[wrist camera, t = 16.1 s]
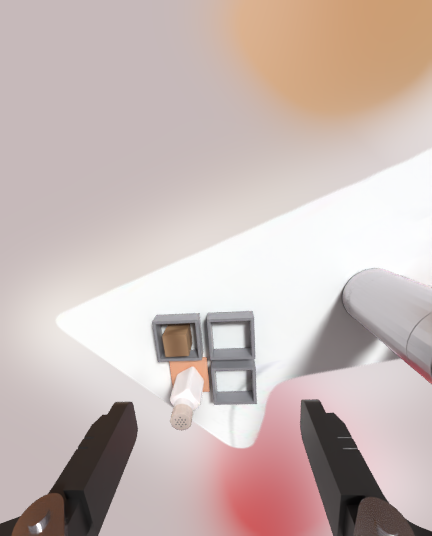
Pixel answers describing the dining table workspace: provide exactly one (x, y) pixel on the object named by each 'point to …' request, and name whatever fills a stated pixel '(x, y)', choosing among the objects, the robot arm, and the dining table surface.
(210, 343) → the empty bin
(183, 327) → the walnut cube
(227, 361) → the shaker bin
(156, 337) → the bin with cube
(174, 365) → the terracotta pad
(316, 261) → the dining table surface
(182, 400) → the salt shaker
